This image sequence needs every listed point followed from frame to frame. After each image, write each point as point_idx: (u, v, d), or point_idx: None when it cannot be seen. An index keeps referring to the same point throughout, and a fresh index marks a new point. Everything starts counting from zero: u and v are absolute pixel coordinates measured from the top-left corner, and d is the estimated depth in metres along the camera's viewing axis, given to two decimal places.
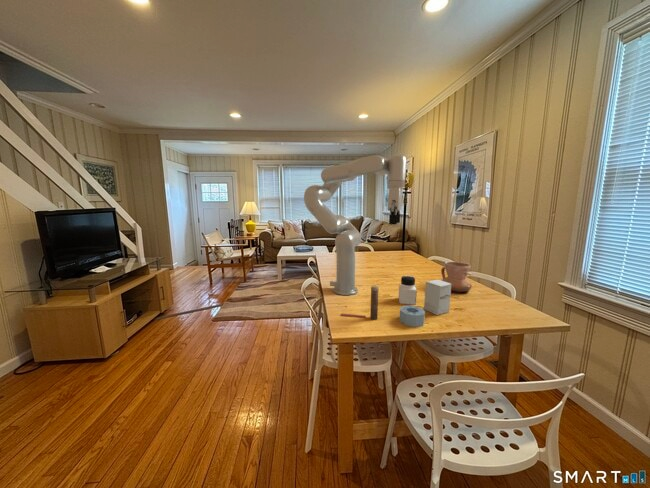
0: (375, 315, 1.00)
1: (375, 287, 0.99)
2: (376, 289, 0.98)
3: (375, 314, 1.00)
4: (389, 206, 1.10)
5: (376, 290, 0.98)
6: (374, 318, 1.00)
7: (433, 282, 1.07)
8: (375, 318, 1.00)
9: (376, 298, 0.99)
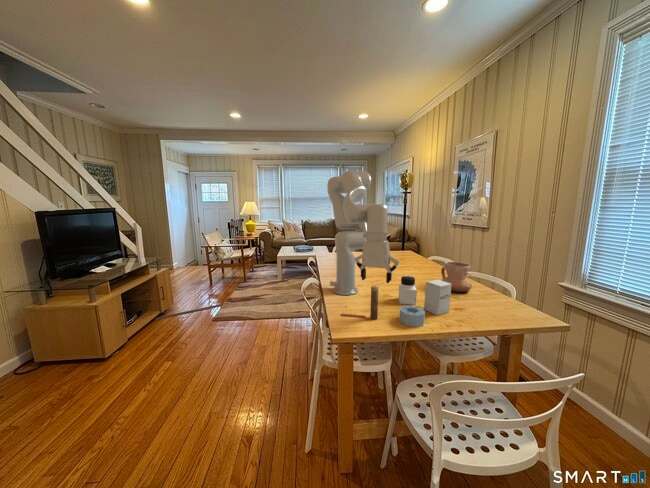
0: (375, 315, 1.00)
1: (375, 287, 0.99)
2: (376, 289, 0.98)
3: (375, 314, 1.00)
4: (388, 263, 0.94)
5: (376, 290, 0.98)
6: (374, 318, 1.00)
7: (433, 282, 1.07)
8: (375, 318, 1.00)
9: (376, 298, 0.99)
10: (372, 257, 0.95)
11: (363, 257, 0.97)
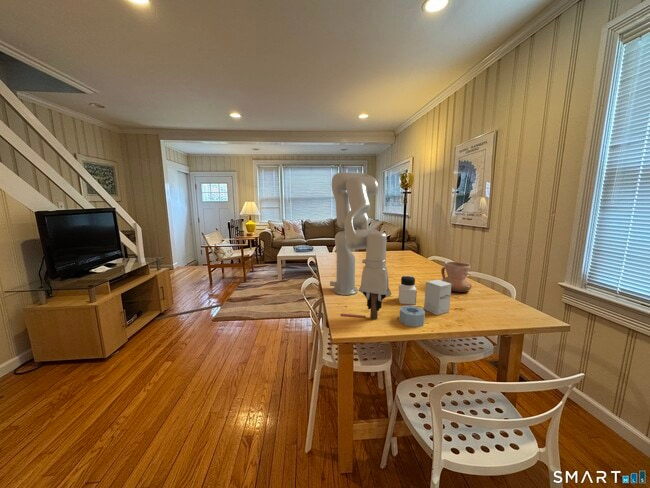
0: (375, 315, 1.00)
1: None
2: None
3: (375, 314, 1.00)
4: (386, 290, 0.96)
5: None
6: (374, 318, 1.00)
7: (433, 282, 1.07)
8: (375, 318, 1.00)
9: (376, 298, 0.99)
10: (371, 284, 0.97)
11: (362, 283, 0.99)
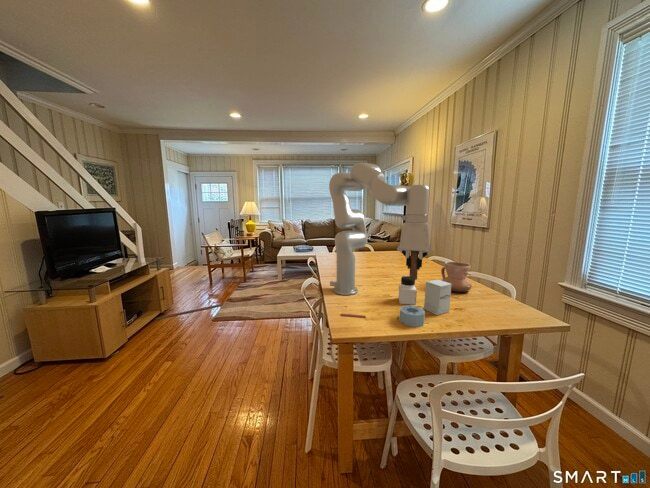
0: (415, 275, 0.94)
1: None
2: None
3: (415, 274, 0.94)
4: (429, 246, 0.90)
5: None
6: (414, 278, 0.95)
7: (433, 282, 1.07)
8: (415, 278, 0.95)
9: (417, 256, 0.93)
10: (412, 240, 0.92)
11: (402, 240, 0.93)
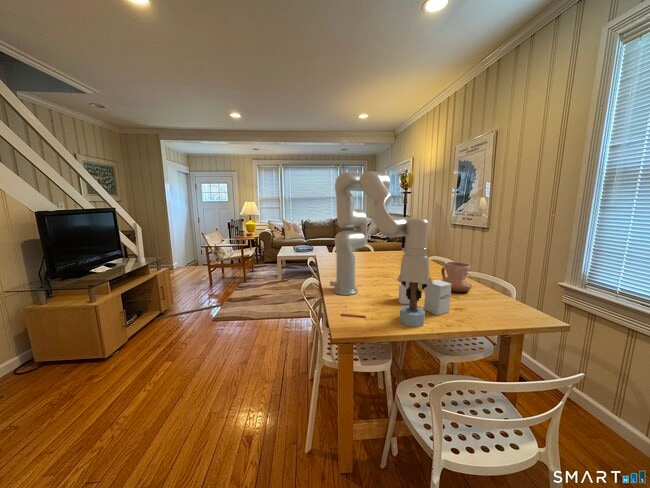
0: (415, 305, 0.96)
1: None
2: None
3: (415, 304, 0.96)
4: (428, 279, 0.92)
5: None
6: (414, 309, 0.96)
7: (433, 282, 1.07)
8: (415, 309, 0.96)
9: (416, 287, 0.95)
10: (412, 272, 0.93)
11: (402, 272, 0.95)
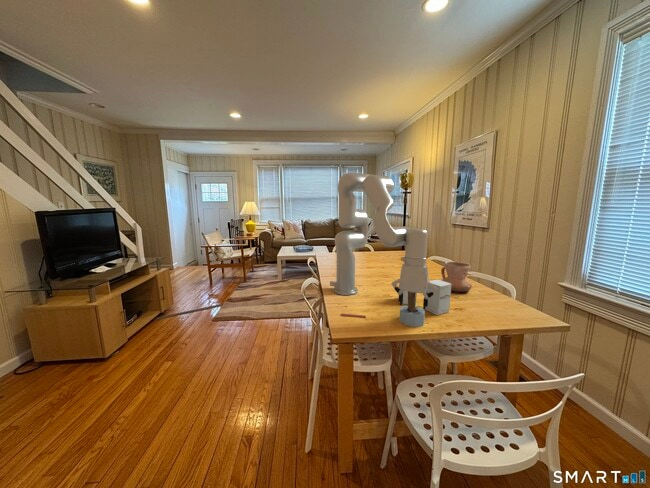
0: None
1: None
2: None
3: None
4: (427, 288, 0.93)
5: (413, 292, 0.96)
6: None
7: (433, 282, 1.07)
8: None
9: (414, 300, 0.96)
10: (411, 282, 0.94)
11: (401, 281, 0.96)
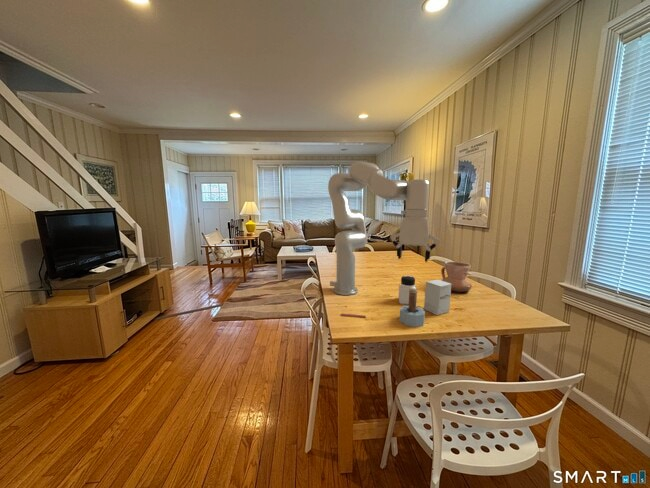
0: None
1: (414, 289, 0.96)
2: (415, 291, 0.96)
3: None
4: (428, 241, 0.91)
5: (415, 292, 0.96)
6: None
7: (433, 282, 1.07)
8: None
9: (415, 300, 0.96)
10: (411, 235, 0.92)
11: (401, 235, 0.94)
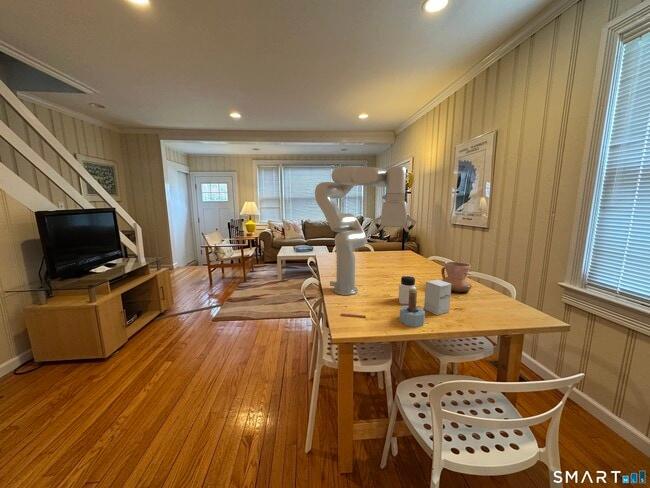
0: None
1: (413, 289, 0.96)
2: (415, 291, 0.96)
3: None
4: (406, 222, 1.00)
5: (415, 292, 0.96)
6: None
7: (433, 282, 1.07)
8: None
9: (415, 300, 0.96)
10: (391, 217, 1.02)
11: (382, 217, 1.03)
